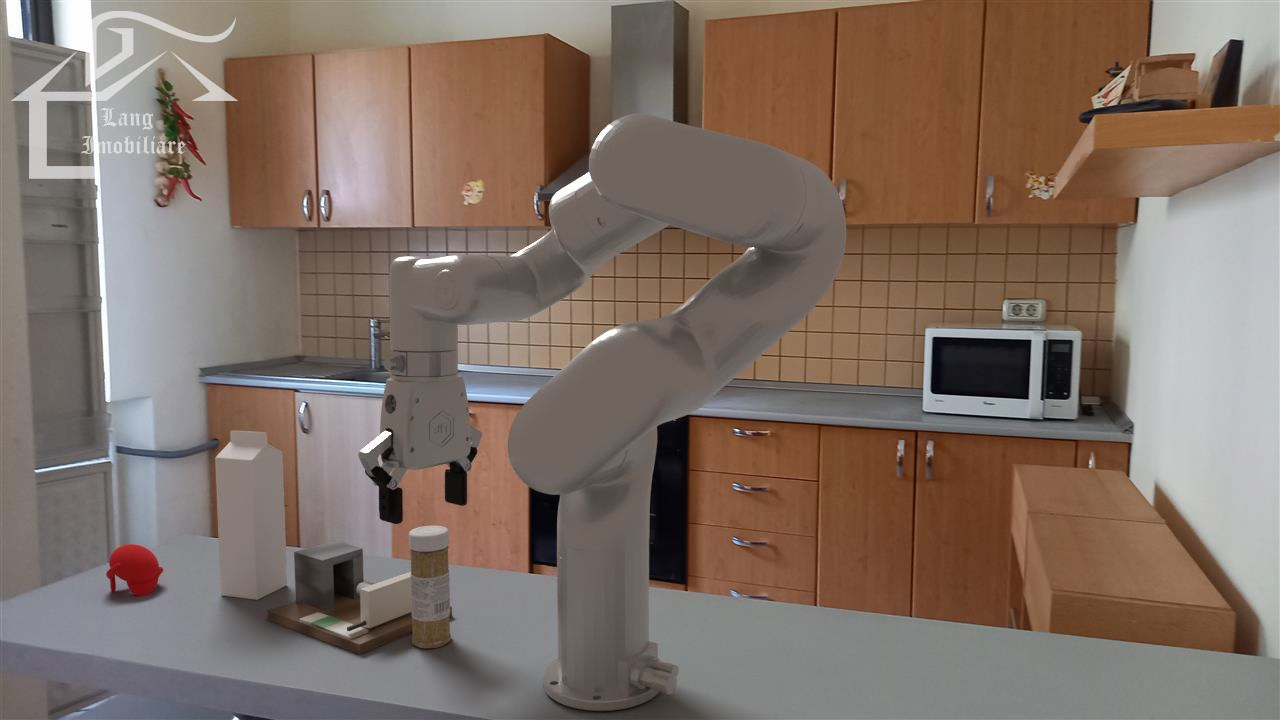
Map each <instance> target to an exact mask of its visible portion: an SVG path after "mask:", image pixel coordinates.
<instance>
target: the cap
mask: <svg viewBox="0 0 1280 720" xmlns="http://www.w3.org/2000/svg"><path fill="white" fill-rule="evenodd" d="M108 562H109V564H108V565H109V569H108V570H106V573H105V575H106V578H108V580H109V585H110V591H111V592H115V591H116V589H117V584H116V582H117V581H116V577H118V578H119V579H120V580H122V581H124V582H126V585H127V587H128V589H129V591H130V592H131V593H132V594H134V595H135V596H138V597H145V596H148V595H150V594H151V593H152V592H153V591H154V590H155V589H156V587H157V585H158V581H159V577H161V575H162V573H163V572H164V568H163V567H162V566H160V565H159V560H158V558H157V557H156V555H155V554H154V552H152V551H151V550H150V549H149V548H147V547H145V546H142V545H140V544H135V543H129V544H124V545H120V546H119V547H116V549H114V550H113V552H112V553H111V554H110V556H109V560H108Z"/></svg>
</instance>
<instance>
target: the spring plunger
mask: <svg viewBox="0 0 1280 720" xmlns="http://www.w3.org/2000/svg"><path fill="white" fill-rule="evenodd" d="M356 593H357V594H358V595H360V610H361V622H359V623H357V624H354V625H351V626H349V627H347V631H351V630H354V629H357V628H359V627H362V626H364V627H367V628H372V627H374V626H377V625H379V624H382V623H384V622H387V621H390V620H392V619H395V618H397V617H400V616H402V615H405V614H407V613H410V612H412V611H411V571H408V572H406V573H403V574H400V575H399V574H398V575H397V576H394V577H391V578H388V579H385V580H382V581H379V582H377V583H375V584H373V585H370V584H367V583H363V582H362V583H360V584H359V585H358V586H357V588H356Z"/></svg>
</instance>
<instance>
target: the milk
mask: <svg viewBox="0 0 1280 720" xmlns="http://www.w3.org/2000/svg"><path fill="white" fill-rule="evenodd" d="M229 435H230V437H229V438H230V439H229V442H228V444H227V445H226V446H225V447H223V449H222V450H221V451H220V452H219V453H218V454H217V455H216V456H215V457H214V462H215V484H216V485H215V486H216V489H215V490H216V505H217V506H216V507H217V508H216V509H217V510H216V511H217V531H218V532H217V534H218V535H217V537H218V556H219V557H218V558H219V578H220V579H219V583H220V595H221V596H225V597H232V598H239V599H247V600H254V601H255V600H256V601H258V600H261V599H262V598H264V597H266V596H268V595H270V594H272V593H274V592H276V591H278V590H281V589H282V588H285V587H287V586H288V573H287V571H288V568H287V567H288V566H287V546H286V545H287V544H286V516H285V489H284V487H285V486H284V485H285V483H284V461H283V460H284V459H283V457H284V456H283V451H281V450H280V449H277V448H276V447H274V446H273V445H271V444H269V443H268V434H267V432H266V431H264V432H262V431H250V430H248V431H246V430H230V432H229Z"/></svg>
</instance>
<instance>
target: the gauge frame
mask: <svg viewBox="0 0 1280 720" xmlns="http://www.w3.org/2000/svg"><path fill="white" fill-rule="evenodd" d="M293 553H294V554H293V559H294V561H293V562H294V585H295V587H294V590H295V592H294V593H295V600H294V601H291V602H288V603H284V604H282V605H279V606H277V607H273V608H270V609H267V610H266V612H267V613H266V617H267V621H270V622H272V623H276V624H278V625H281V626H284V627H286V628H288V629H290V630H294V631H297V632H299V633H302V634H304V635H308V636H309V637H312V638H314V639H317V640H320V641H322V642H325V643H328V644H331V645H333V646H336V647H338V648H342V649H344V650H345V651H349V652H352V653H354V654H357V655H359V656H360V655H362V654H364V653H367V652H369V651H372V650H375V649H376V648H378V647H380V646H383V645H385V644H389V643H391V642H394V641H396V640H397V639H401V638H402V637H405V636H407V635H410V634H411V633H412V634H413V626H412V612H410V613H407V614H405V615H402V616H400V617H397V618H395V619H392V620H390V621H387V622H384V623H382V624H379V625H377V626H374V627H372V628H367V627H364V626H362V627H359V628H357V629H354V630H351V631H347V627H349V626H351V625H354V624H357V623H359V622H361V610H360V595H358V594H357V593H356V588H357V586H358V585H359V584H360V583H362V582H363V583H367V584H370V585H373V584H376V583H375V582H372V581H369V580H366V579H364V550H363V547H359V546H355V545H351V544H347V543H346V542H345V543H344V542H341V541H338V540H331V541H329V542H324V543H322V544H318V545H315V546H311V547H307V548H304V549H300V550H297V551H294V552H293ZM450 617H453V607H452V606H451V605H450V615H449V618H450Z"/></svg>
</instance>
